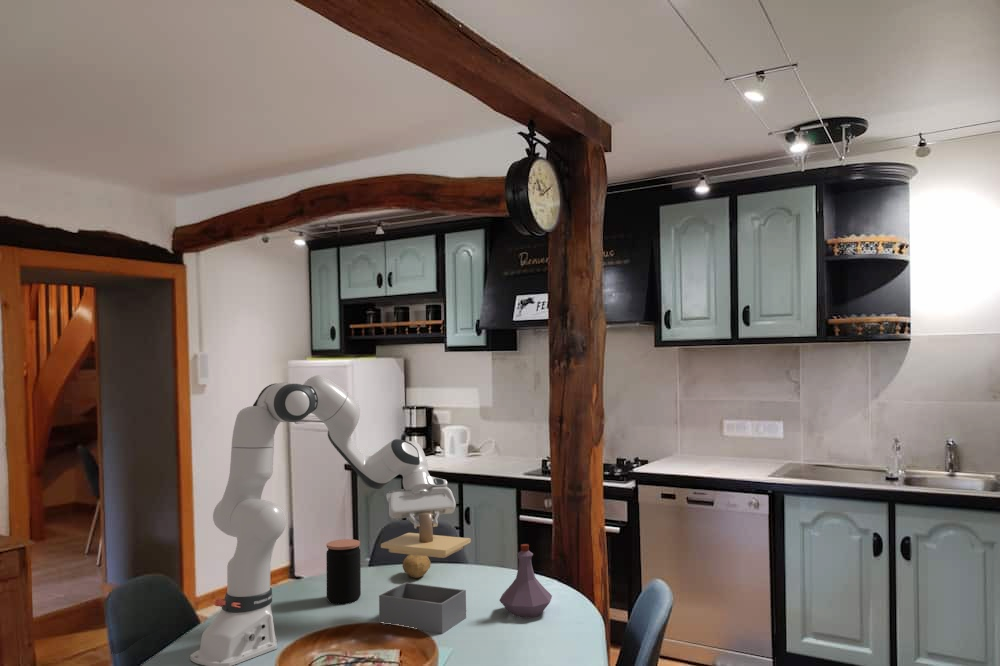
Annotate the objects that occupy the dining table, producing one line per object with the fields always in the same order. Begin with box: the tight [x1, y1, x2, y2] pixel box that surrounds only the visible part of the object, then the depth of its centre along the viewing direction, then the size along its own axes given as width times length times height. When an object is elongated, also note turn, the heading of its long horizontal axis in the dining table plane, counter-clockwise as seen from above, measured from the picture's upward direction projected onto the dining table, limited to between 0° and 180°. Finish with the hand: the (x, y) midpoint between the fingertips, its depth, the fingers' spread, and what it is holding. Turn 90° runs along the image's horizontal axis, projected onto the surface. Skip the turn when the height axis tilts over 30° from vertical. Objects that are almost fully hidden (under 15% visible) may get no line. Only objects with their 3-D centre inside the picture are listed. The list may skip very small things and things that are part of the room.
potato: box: [402, 554, 432, 579], centre depth 256 cm, size 10×14×8 cm
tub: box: [378, 581, 467, 635], centre depth 211 cm, size 14×21×8 cm, turn 65°
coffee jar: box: [325, 538, 362, 605], centre depth 232 cm, size 11×11×18 cm
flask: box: [499, 543, 553, 618], centre depth 217 cm, size 16×16×20 cm
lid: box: [380, 512, 472, 559], centre depth 215 cm, size 15×22×11 cm
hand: (426, 526), depth 214 cm, fingers closed on lid, 4 cm apart
